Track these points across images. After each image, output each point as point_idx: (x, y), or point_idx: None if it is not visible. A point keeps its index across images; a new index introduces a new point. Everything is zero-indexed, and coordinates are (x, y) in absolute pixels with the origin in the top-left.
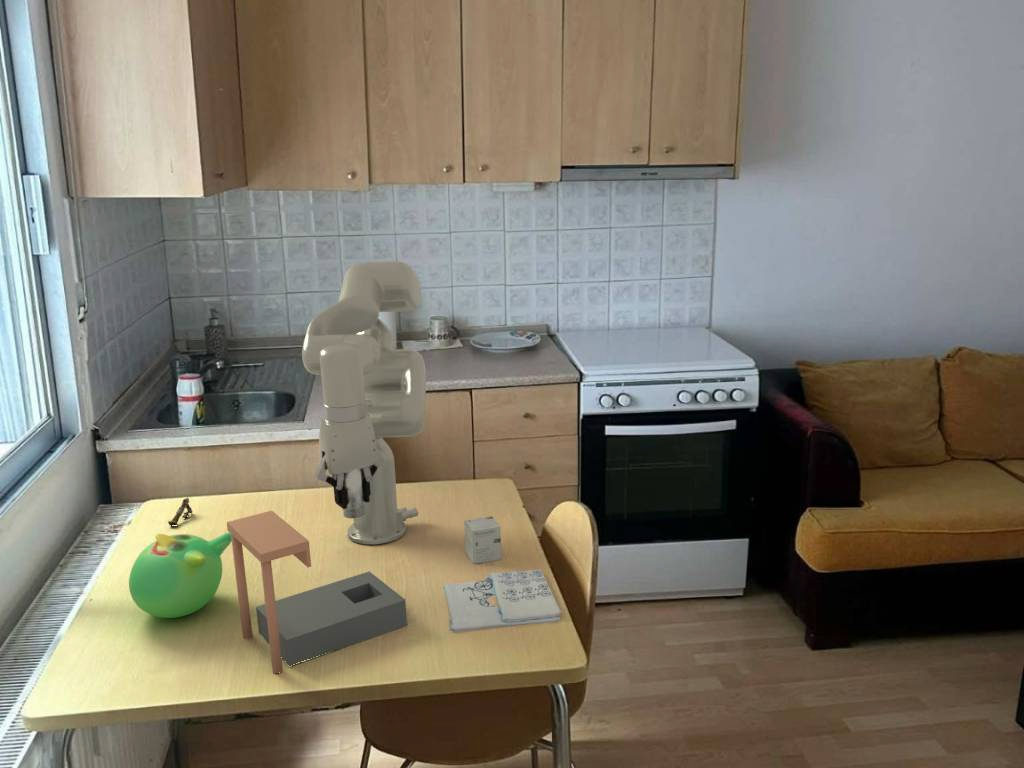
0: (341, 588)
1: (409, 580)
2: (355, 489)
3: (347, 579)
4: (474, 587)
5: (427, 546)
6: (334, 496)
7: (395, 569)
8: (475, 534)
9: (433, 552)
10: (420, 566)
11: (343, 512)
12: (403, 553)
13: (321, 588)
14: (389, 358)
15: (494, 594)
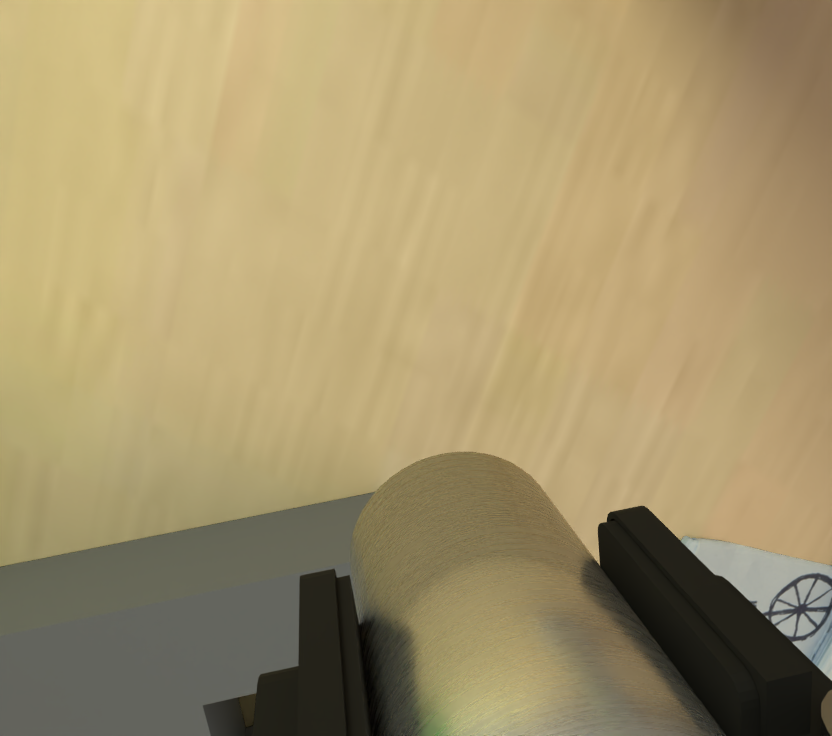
0: (213, 670)
1: (587, 428)
2: None
3: (269, 592)
4: (768, 609)
5: (819, 114)
6: (254, 727)
7: (579, 289)
8: None
9: (806, 201)
10: (688, 317)
11: (353, 558)
12: (687, 128)
13: (109, 634)
14: None
15: None
